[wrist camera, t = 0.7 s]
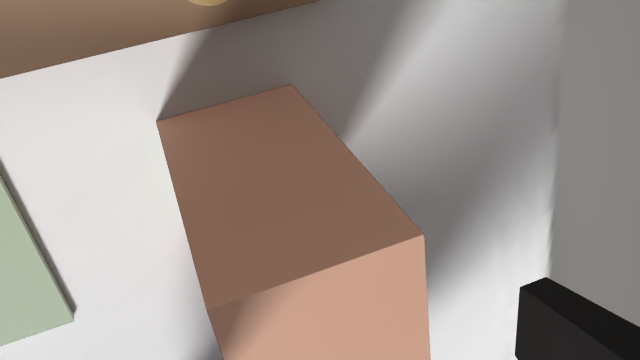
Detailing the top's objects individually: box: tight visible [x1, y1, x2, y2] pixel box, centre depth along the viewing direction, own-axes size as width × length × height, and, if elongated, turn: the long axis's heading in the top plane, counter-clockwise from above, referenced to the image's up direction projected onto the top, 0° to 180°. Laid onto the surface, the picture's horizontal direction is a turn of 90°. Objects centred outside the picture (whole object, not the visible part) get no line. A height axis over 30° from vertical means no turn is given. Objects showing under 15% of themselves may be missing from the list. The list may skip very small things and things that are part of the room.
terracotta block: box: [156, 84, 431, 360], centre depth 16 cm, size 4×4×9 cm
